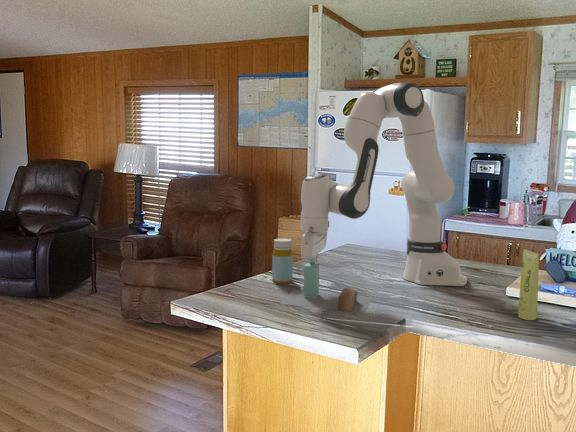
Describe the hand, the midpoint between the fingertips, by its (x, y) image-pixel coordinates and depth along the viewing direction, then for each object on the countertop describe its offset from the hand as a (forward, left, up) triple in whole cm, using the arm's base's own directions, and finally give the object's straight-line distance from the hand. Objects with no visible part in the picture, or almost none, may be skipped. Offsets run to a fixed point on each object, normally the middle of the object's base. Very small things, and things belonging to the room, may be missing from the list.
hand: (313, 267), depth 186 cm
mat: (-6, +7, -9) cm, 13 cm away
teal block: (0, +3, -8) cm, 9 cm away
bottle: (+14, -12, -9) cm, 20 cm away
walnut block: (-13, +5, -6) cm, 16 cm away
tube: (-64, +5, -9) cm, 65 cm away
